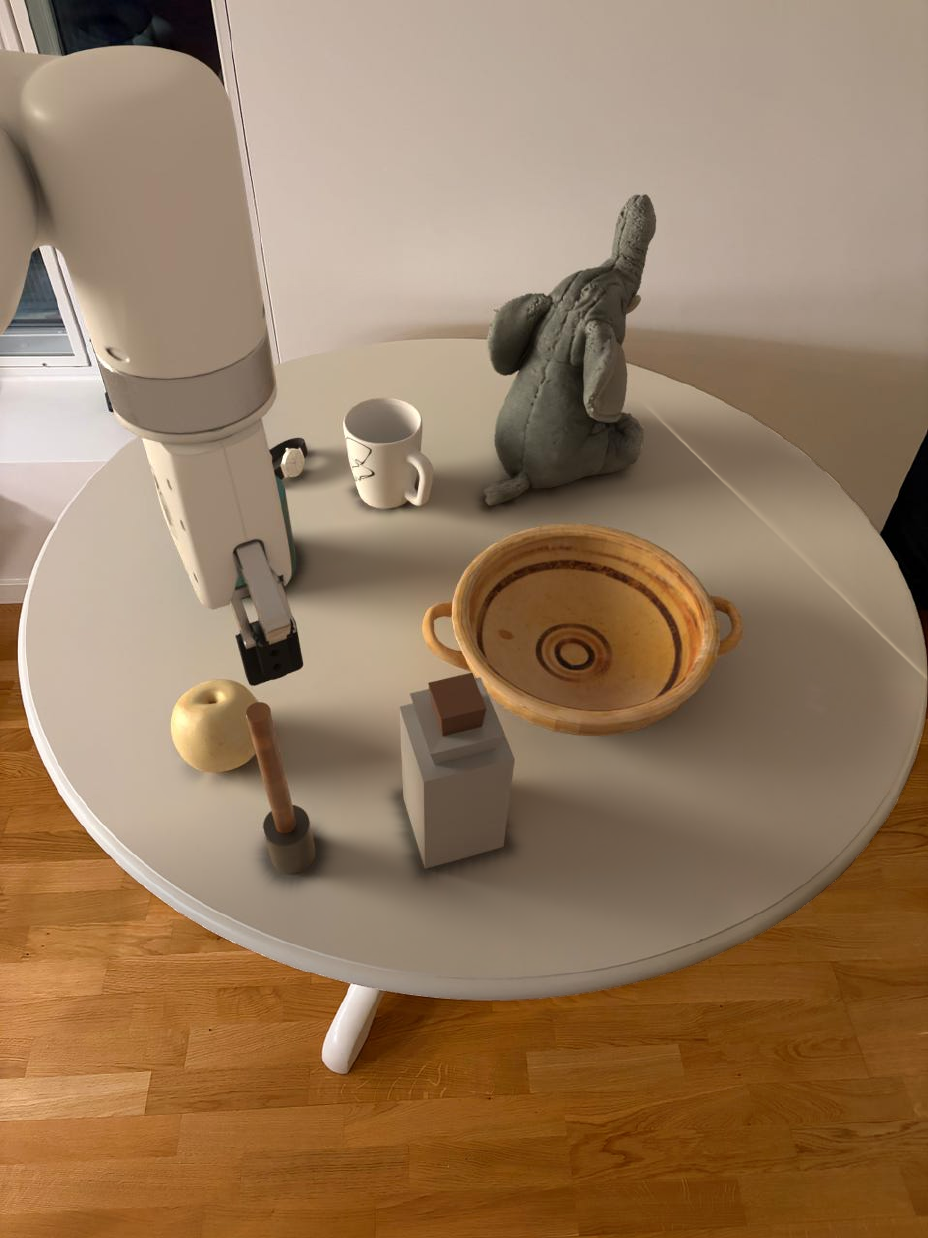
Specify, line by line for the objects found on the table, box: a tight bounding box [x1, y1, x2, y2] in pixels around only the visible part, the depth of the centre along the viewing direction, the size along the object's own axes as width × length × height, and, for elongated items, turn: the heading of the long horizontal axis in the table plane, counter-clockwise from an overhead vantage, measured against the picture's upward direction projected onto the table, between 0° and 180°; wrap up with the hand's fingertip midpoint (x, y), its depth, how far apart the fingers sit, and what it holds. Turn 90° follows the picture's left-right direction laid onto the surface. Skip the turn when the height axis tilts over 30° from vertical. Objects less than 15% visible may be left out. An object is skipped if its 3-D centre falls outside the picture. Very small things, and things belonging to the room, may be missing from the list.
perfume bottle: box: [398, 672, 516, 870], centre depth 69 cm, size 7×7×18 cm
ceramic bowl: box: [421, 522, 744, 737], centre depth 84 cm, size 30×24×8 cm
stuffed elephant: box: [483, 193, 657, 506], centre depth 99 cm, size 19×21×27 cm
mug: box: [342, 396, 435, 510], centre depth 99 cm, size 11×8×10 cm
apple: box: [170, 678, 259, 773], centre depth 78 cm, size 8×8×8 cm
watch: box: [269, 437, 309, 481], centre depth 104 cm, size 8×5×4 cm, turn 151°
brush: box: [246, 701, 316, 875], centre depth 66 cm, size 4×4×20 cm
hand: (249, 616), depth 54 cm, fingers open, 9 cm apart
